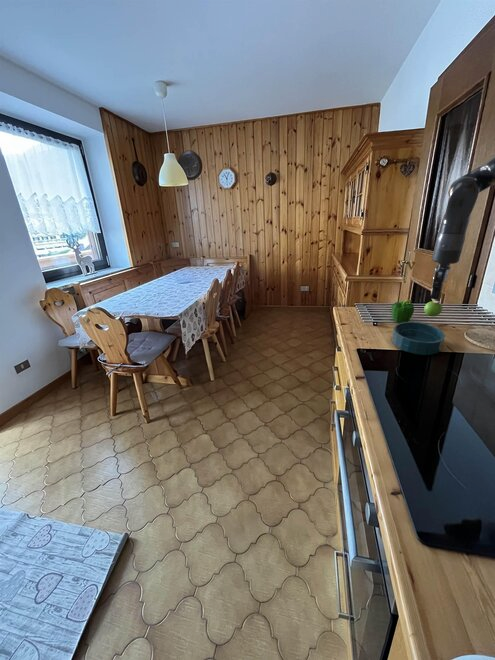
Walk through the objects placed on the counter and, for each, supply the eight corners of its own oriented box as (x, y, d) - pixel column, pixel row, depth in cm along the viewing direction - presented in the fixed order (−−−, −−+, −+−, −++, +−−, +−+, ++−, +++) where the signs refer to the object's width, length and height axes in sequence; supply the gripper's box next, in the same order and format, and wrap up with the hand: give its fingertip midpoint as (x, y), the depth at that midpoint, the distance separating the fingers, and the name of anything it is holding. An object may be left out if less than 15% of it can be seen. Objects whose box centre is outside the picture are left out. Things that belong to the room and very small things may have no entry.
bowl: (443, 340, 107) (447, 328, 104) (437, 361, 96) (441, 347, 93) (397, 330, 116) (399, 318, 113) (386, 348, 105) (389, 335, 102)
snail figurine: (434, 311, 105) (442, 280, 99) (443, 318, 99) (452, 286, 94) (418, 311, 105) (426, 280, 100) (426, 319, 100) (434, 286, 94)
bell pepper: (385, 321, 124) (389, 299, 119) (395, 315, 128) (399, 294, 124) (405, 327, 118) (410, 305, 113) (414, 321, 122) (419, 299, 118)
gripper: (460, 252, 84) (445, 304, 92) (464, 243, 94) (450, 291, 102) (431, 250, 88) (419, 300, 96) (438, 241, 98) (426, 288, 106)
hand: (435, 295), depth 99 cm, fingers closed on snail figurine, 5 cm apart
